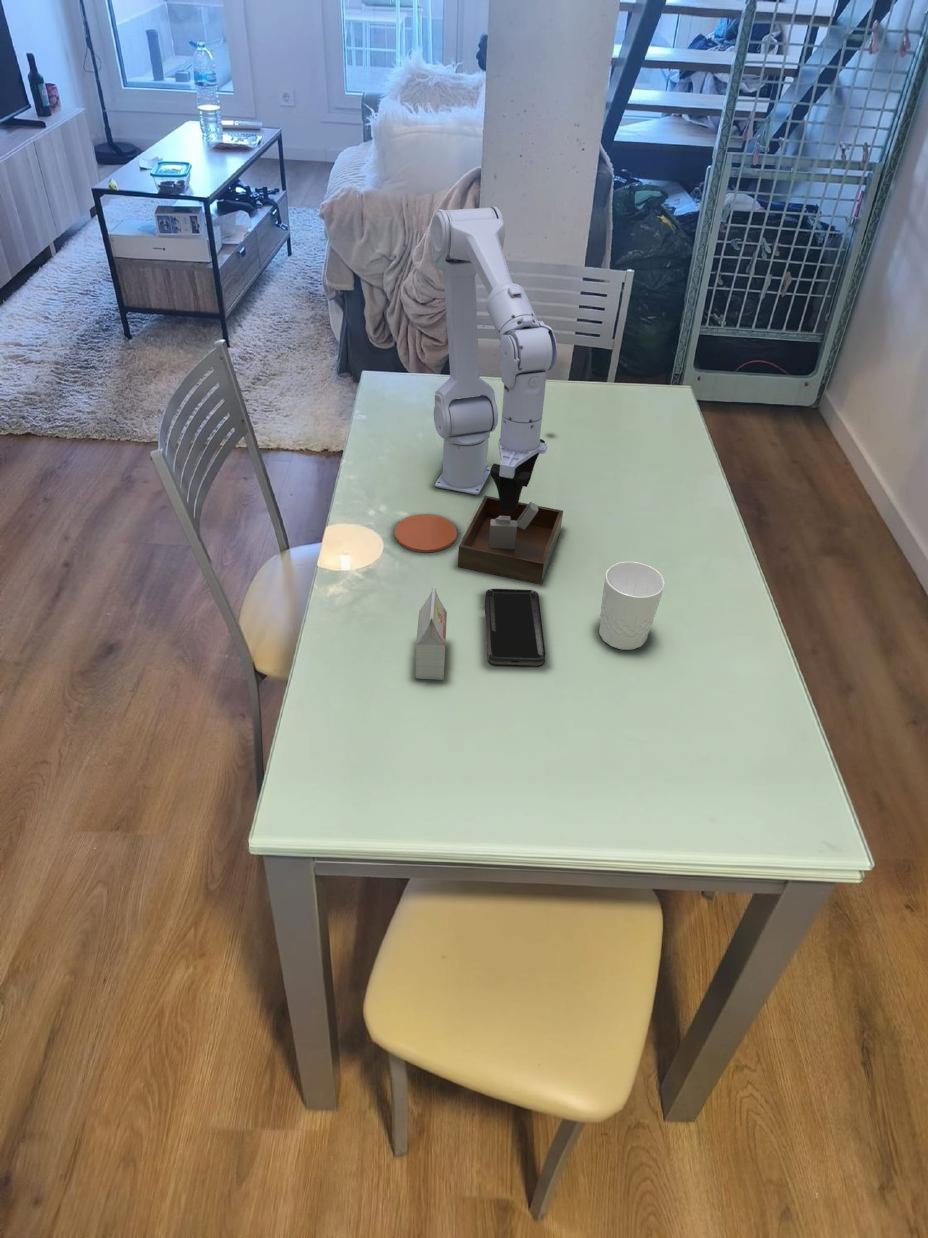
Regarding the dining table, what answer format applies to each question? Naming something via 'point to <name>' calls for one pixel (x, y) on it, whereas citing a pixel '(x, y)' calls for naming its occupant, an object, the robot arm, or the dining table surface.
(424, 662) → the milk carton
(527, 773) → the dining table surface
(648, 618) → the white cup
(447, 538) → the coaster
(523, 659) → the phone
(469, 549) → the tray
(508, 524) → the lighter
